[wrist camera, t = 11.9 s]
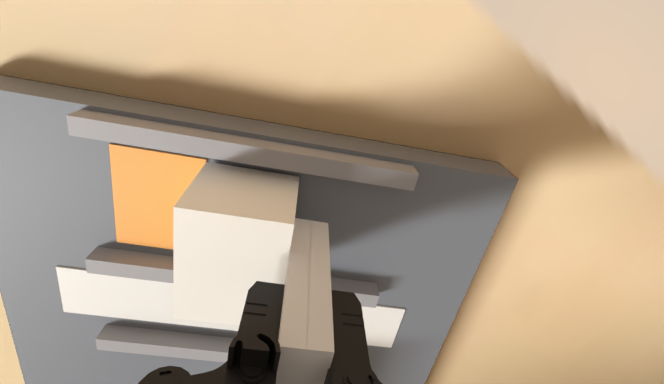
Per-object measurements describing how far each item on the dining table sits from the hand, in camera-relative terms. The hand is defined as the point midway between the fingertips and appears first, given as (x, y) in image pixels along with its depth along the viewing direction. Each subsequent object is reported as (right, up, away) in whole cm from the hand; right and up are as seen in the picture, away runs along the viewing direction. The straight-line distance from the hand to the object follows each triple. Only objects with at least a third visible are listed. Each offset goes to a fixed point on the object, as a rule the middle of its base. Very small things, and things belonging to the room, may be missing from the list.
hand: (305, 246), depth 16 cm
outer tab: (-3, +1, +1) cm, 3 cm away
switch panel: (-4, -3, +6) cm, 8 cm away
